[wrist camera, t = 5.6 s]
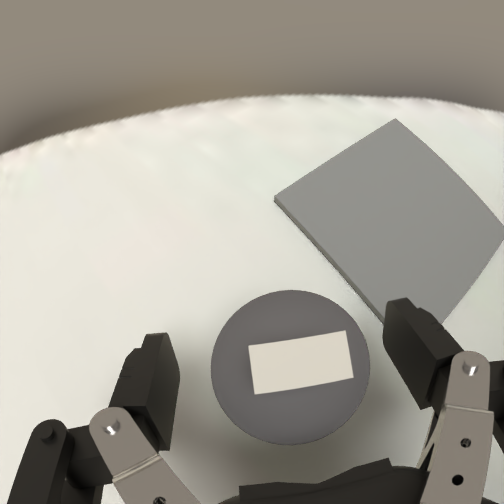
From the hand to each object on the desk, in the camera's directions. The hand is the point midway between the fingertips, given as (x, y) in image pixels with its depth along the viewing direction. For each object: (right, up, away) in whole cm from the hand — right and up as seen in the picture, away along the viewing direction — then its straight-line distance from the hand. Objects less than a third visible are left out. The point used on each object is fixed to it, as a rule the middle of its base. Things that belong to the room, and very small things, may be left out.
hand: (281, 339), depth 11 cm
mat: (+9, +5, +8) cm, 13 cm away
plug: (0, -3, +4) cm, 5 cm away
